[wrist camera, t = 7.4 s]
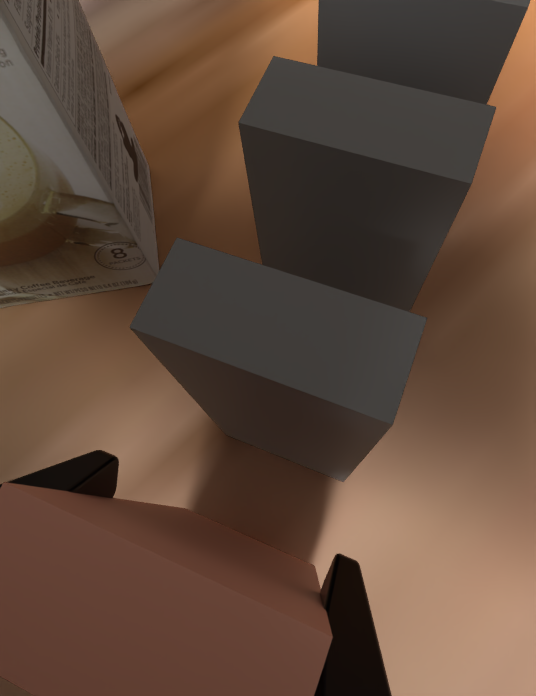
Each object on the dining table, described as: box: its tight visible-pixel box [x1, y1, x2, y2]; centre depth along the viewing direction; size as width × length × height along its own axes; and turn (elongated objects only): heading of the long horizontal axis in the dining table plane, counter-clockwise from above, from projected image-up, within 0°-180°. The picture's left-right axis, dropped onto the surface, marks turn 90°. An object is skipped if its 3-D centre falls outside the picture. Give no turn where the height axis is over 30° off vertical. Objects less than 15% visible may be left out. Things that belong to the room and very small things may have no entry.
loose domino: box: [0, 482, 333, 696], centre depth 10 cm, size 2×4×10 cm, turn 68°
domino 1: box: [317, 0, 530, 105], centre depth 15 cm, size 2×4×10 cm, turn 68°
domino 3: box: [130, 238, 427, 482], centre depth 12 cm, size 2×4×10 cm, turn 68°
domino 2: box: [239, 56, 496, 312], centre depth 14 cm, size 2×4×10 cm, turn 68°
